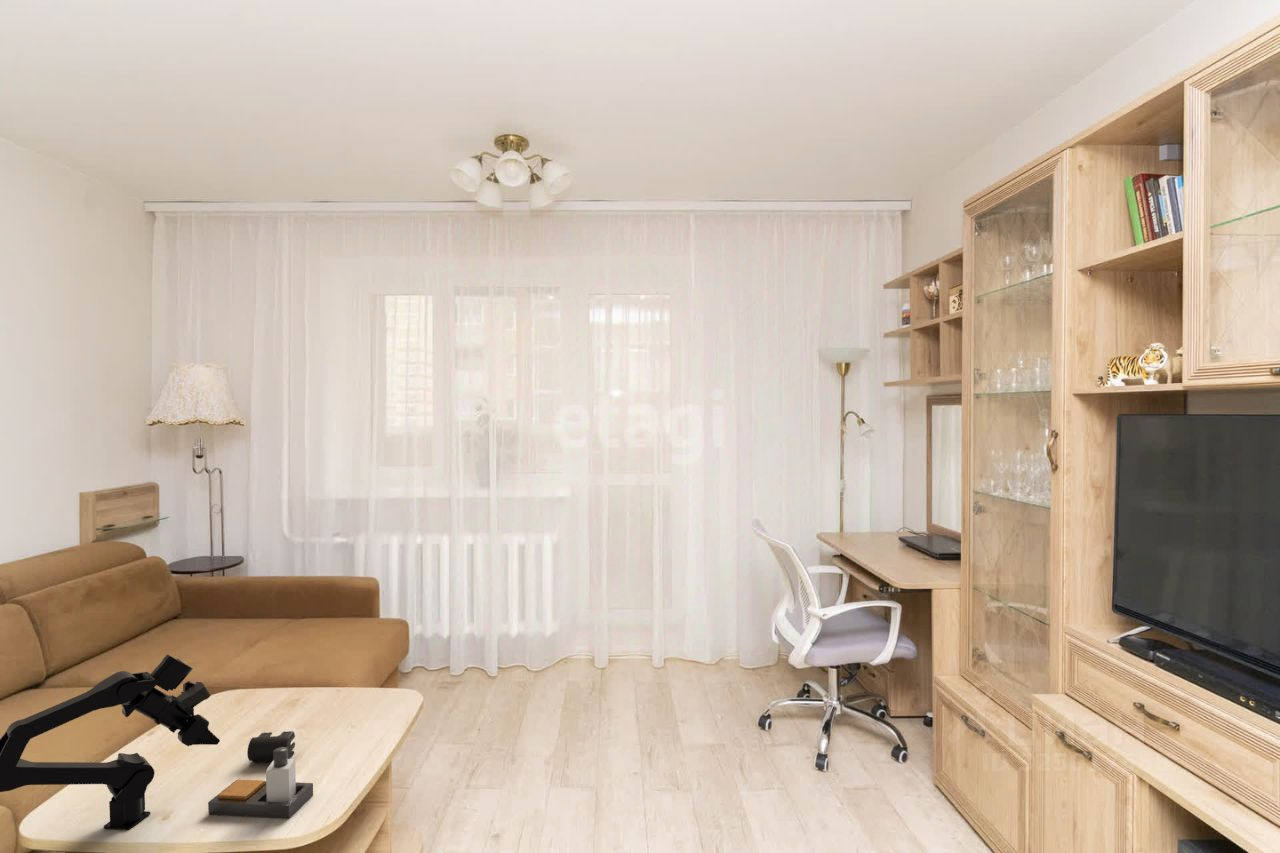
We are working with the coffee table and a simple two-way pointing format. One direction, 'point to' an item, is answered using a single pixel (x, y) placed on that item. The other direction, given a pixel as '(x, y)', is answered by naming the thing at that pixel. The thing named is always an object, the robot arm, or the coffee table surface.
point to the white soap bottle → (281, 777)
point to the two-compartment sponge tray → (256, 800)
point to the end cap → (269, 746)
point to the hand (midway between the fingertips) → (212, 736)
